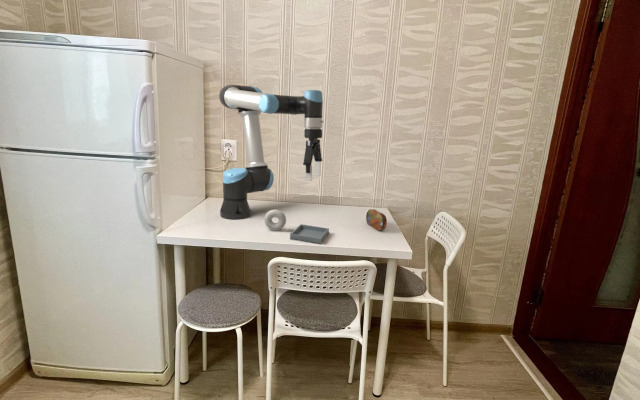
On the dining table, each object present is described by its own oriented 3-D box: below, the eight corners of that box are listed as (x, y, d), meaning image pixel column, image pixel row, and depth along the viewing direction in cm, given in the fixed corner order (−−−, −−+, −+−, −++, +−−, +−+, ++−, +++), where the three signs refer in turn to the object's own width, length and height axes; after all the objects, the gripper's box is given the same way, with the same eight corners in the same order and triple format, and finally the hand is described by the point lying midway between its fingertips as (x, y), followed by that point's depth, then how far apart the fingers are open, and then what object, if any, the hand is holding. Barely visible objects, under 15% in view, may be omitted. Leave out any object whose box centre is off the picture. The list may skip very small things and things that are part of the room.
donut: (263, 230, 154) (263, 209, 152) (265, 228, 158) (265, 207, 155) (285, 232, 154) (285, 211, 151) (286, 229, 157) (287, 209, 155)
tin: (364, 222, 173) (366, 207, 171) (370, 222, 175) (371, 206, 172) (381, 233, 160) (383, 216, 158) (386, 232, 161) (388, 215, 159)
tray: (289, 239, 146) (290, 234, 146) (300, 229, 159) (300, 224, 159) (320, 244, 143) (320, 239, 142) (328, 233, 156) (328, 228, 155)
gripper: (314, 129, 131) (313, 183, 135) (328, 128, 154) (327, 174, 159) (295, 128, 133) (295, 182, 137) (312, 128, 156) (312, 173, 161)
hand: (313, 178), depth 148 cm, fingers open, 13 cm apart
